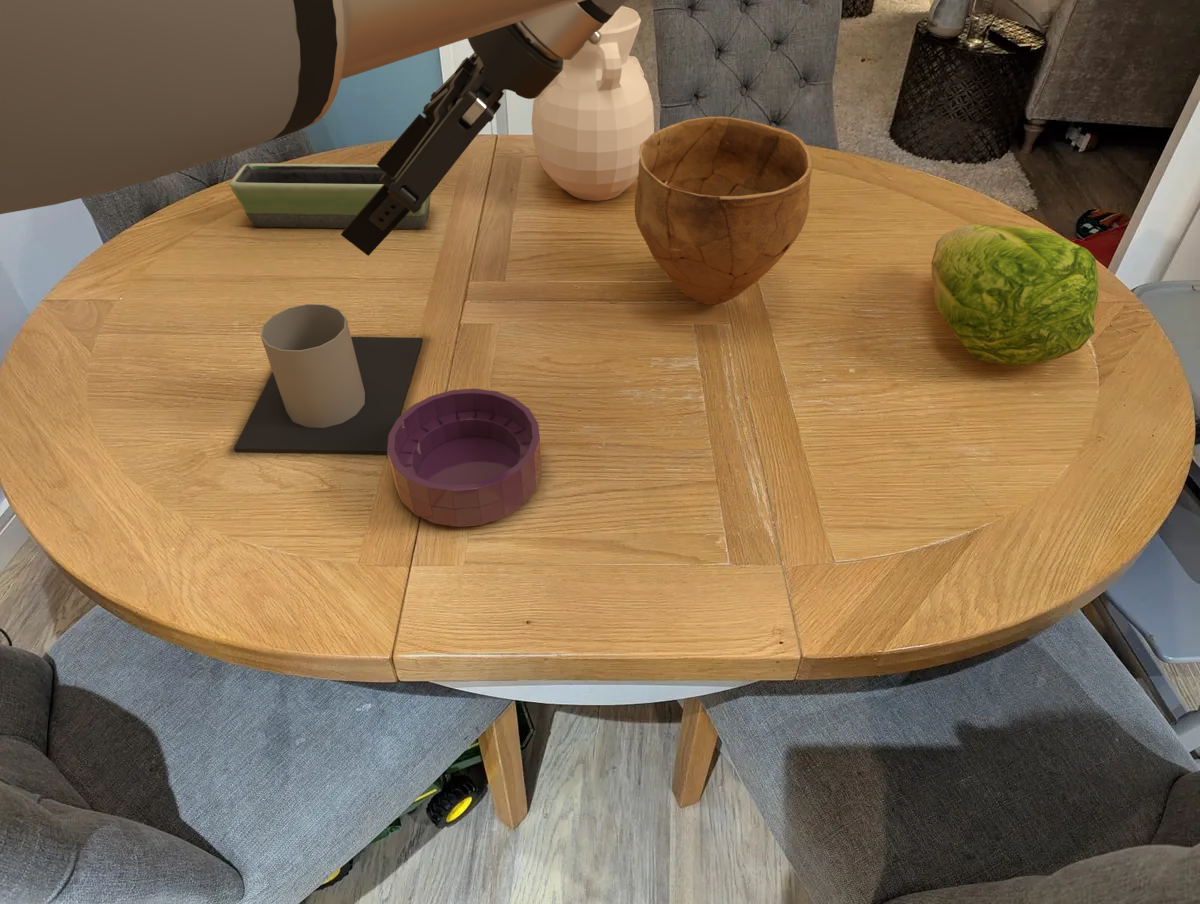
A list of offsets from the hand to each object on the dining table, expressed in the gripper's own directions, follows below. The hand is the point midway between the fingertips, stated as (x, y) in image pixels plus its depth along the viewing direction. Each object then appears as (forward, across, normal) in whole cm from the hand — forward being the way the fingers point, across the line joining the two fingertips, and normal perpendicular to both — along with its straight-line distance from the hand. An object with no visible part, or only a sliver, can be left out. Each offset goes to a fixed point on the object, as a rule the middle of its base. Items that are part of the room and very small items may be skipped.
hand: (373, 206), depth 72 cm
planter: (+30, +43, -4) cm, 52 cm away
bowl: (-8, +22, -41) cm, 47 cm away
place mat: (+23, +3, -10) cm, 26 cm away
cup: (+23, 0, -10) cm, 25 cm away
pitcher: (+4, +54, -30) cm, 62 cm away
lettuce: (-32, +18, -65) cm, 74 cm away
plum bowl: (+11, -10, -22) cm, 27 cm away
